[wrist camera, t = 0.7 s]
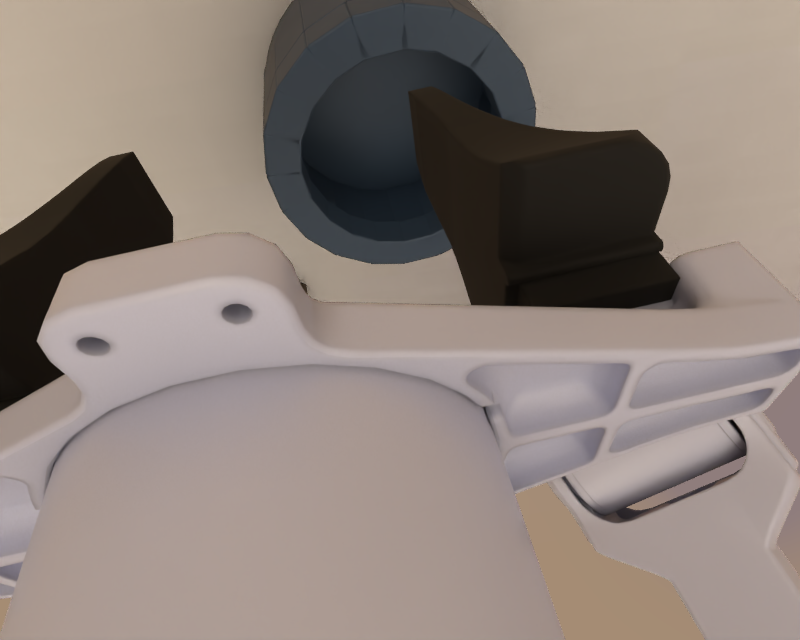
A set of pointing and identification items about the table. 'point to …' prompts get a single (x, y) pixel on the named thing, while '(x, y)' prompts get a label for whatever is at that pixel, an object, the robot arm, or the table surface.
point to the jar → (374, 115)
